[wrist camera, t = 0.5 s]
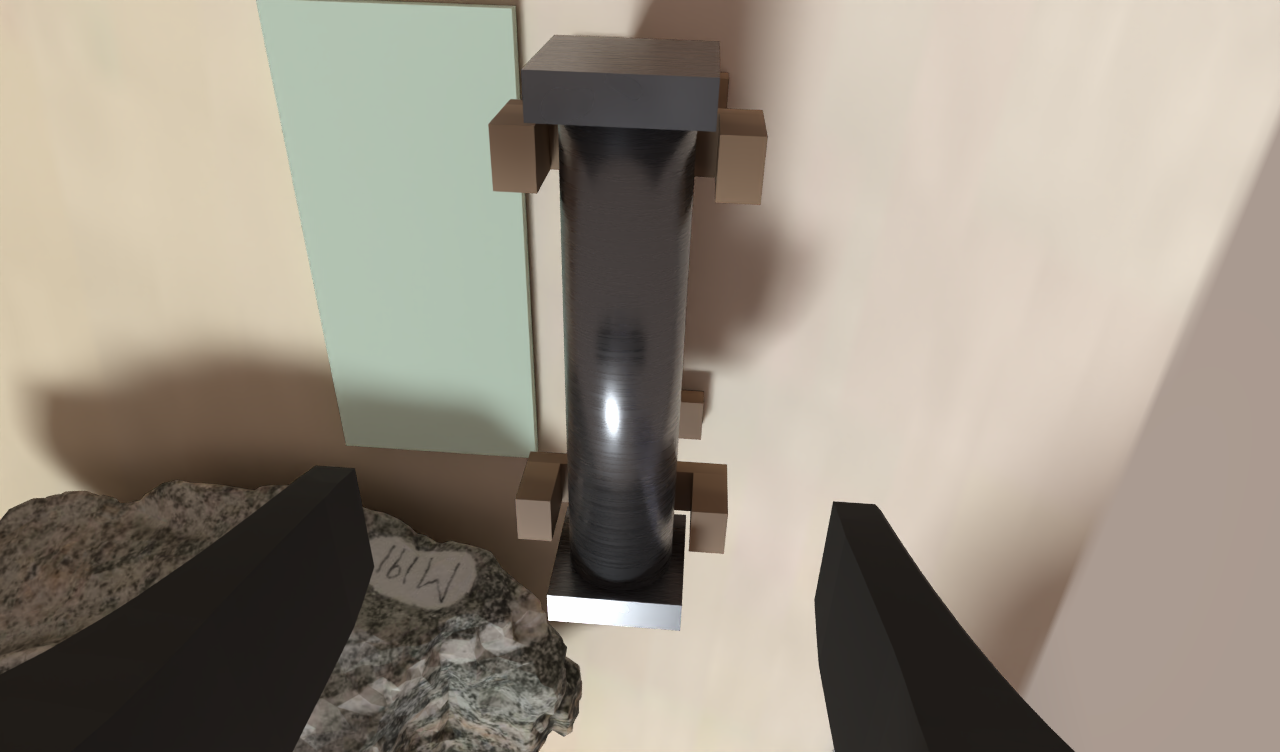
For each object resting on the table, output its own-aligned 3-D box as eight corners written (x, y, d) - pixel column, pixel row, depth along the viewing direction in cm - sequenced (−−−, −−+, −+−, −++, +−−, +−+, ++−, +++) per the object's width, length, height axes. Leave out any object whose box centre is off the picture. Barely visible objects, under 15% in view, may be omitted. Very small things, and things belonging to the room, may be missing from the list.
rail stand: (722, 428, 23) (723, 553, 19) (553, 417, 24) (517, 538, 19) (755, 74, 18) (767, 136, 14) (540, 64, 19) (488, 124, 14)
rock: (576, 496, 22) (530, 929, 19) (605, 539, 31) (578, 836, 28) (-69, 448, 23) (-208, 848, 20) (143, 503, 32) (68, 784, 29)
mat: (538, 449, 24) (535, 458, 24) (351, 437, 25) (346, 445, 24) (515, 5, 18) (511, 8, 18) (264, -4, 18) (255, -2, 18)
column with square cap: (684, 538, 21) (679, 630, 19) (568, 530, 21) (548, 620, 19) (719, 41, 15) (719, 77, 12) (553, 34, 15) (520, 69, 12)
